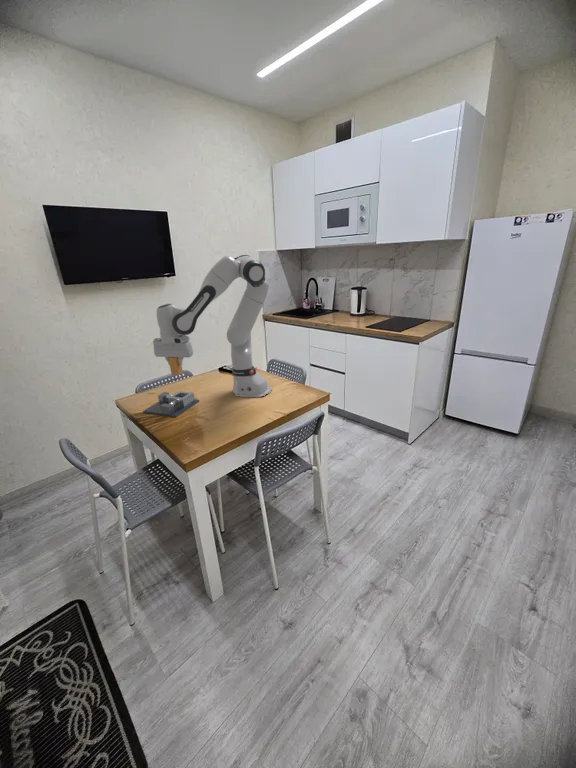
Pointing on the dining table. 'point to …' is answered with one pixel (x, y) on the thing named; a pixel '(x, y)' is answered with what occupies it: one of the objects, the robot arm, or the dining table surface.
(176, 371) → the orange brown rectangular block
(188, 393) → the coupling frame
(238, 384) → the robot arm
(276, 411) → the dining table surface
